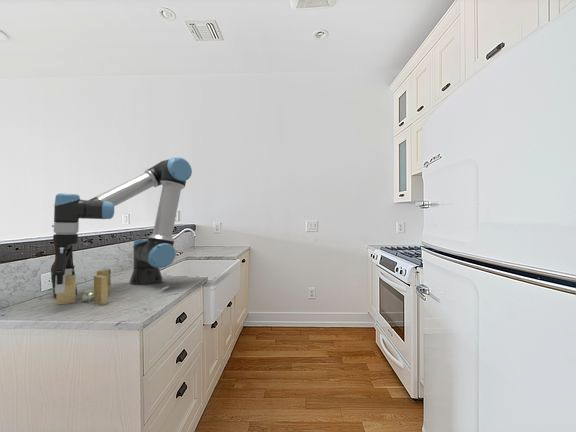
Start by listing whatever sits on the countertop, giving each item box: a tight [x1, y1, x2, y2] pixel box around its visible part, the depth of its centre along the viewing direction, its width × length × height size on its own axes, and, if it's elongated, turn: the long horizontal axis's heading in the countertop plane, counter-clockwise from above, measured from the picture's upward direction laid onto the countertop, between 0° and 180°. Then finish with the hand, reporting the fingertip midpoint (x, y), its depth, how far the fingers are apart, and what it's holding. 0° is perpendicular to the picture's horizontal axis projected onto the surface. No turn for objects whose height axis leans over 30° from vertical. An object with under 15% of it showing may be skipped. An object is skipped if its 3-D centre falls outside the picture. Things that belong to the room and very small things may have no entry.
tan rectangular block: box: [55, 274, 77, 306], centre depth 109 cm, size 6×2×10 cm, turn 119°
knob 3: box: [93, 274, 109, 306], centre depth 109 cm, size 6×2×10 cm, turn 59°
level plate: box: [80, 288, 94, 304], centre depth 113 cm, size 21×21×5 cm
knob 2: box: [96, 268, 112, 295], centre depth 120 cm, size 6×2×10 cm, turn 179°
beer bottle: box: [50, 243, 78, 299], centre depth 119 cm, size 8×8×24 cm
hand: (63, 288), depth 108 cm, fingers open, 13 cm apart
